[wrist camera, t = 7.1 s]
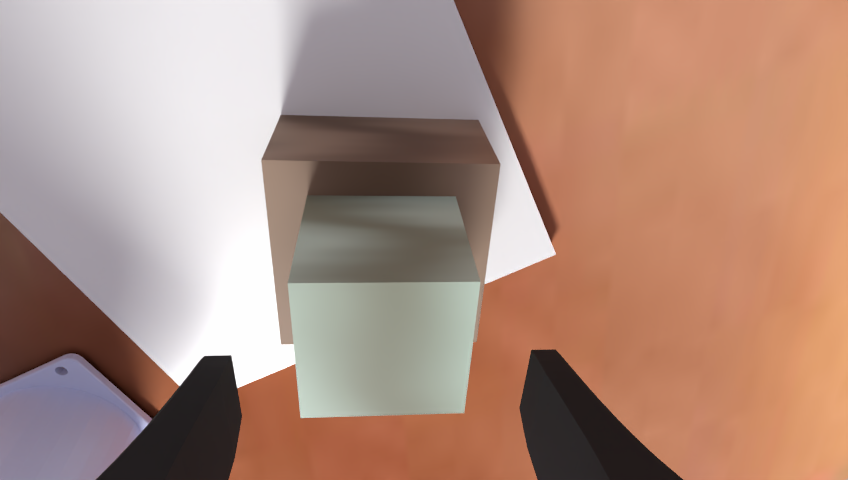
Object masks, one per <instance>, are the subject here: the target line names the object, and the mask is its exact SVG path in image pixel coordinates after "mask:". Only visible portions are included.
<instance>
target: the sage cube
mask: <svg viewBox="0 0 848 480" xmlns="http://www.w3.org/2000/svg"><path fill="white" fill-rule="evenodd" d="M479 290H480V278H479V275H478V271H477V268H476V264H475V261H474V258H473V254H472V251H471V247H470V244H469V240H468V237H467V233H466V230H465V227H464V223H463V220H462V216H461V213H460V209H459V206H458V203H457V199H456V196H322V195H307V198H306V203H305V207H304V212H303V216H302V221H301V225H300V230H299V234H298V239H297V243H296V248H295V252H294V257H293V261H292V266H291V270H290V275H289V279H288V292H289V303H290V313H291V323H292V334H293V344H294V354H295V365H296V375H297V385H298V396H299V406H300V416H301V418H316V417H348V416H381V415H413V414H446V413H464V410H465V402H466V394H467V386H468V378H469V370H470V362H471V354H472V346H473V338H474V330H475V322H476V314H477V306H478V298H479Z"/></svg>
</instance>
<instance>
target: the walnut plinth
mask: <svg viewBox="0 0 848 480" xmlns="http://www.w3.org/2000/svg"><path fill="white" fill-rule="evenodd" d="M261 163H262V172H263V182H264V191H265V200H266V210H267V219H268V228H269V238H270V247H271V257H272V266H273V275H274V285H275V294H276V303H277V313H278V322H279V332H280V341H281V345H293V334H292V323H291V313H290V303H289V292H288V279H289V275H290V270H291V266H292V261H293V257H294V252H295V248H296V243H297V239H298V234H299V230H300V225H301V221H302V216H303V212H304V207H305V203H306V198H307V195H322V196H456V199H457V203H458V206H459V209H460V213H461V216H462V220H463V223H464V227H465V230H466V233H467V237H468V240H469V244H470V247H471V251H472V254H473V258H474V261H475V264H476V268H477V271H478V275H479V278H480V290H479V298H478V306H477V314H476V322H475V330H474V338H473V342H477V335H478V327H479V320H480V313H481V305H482V298H483V290H484V283H485V276H486V268H487V261H488V254H489V246H490V239H491V231H492V224H493V217H494V209H495V202H496V195H497V187H498V180H499V172H500V165H501V164H500V162H499V160H498V158H497V156H496V154H495V152H494V150H493V148H492V146H491V144H490V142H489V140H488V138H487V136H486V134H485V132H484V130H483V128H482V126H481V124H480V122H479V120H464V119H424V118H385V117H345V116H305V115H280V118H279V120H278V122H277V125H276V127H275V129H274V132H273V134H272V136H271V139H270V141H269V143H268V146H267V148H266V150H265V152H264V155H263V157H262V159H261Z"/></svg>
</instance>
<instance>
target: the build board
mask: <svg viewBox="0 0 848 480" xmlns="http://www.w3.org/2000/svg"><path fill="white" fill-rule="evenodd" d="M280 115H305V116H345V117H385V118H424V119H464V120H479V122H480V124H481V126H482V128H483V130H484V132H485V134H486V136H487V138H488V140H489V142H490V144H491V146H492V148H493V150H494V152H495V154H496V156H497V158H498V160H499V162H500V164H501V165H500V172H499V180H498V187H497V195H496V202H495V209H494V217H493V224H492V231H491V239H490V246H489V254H488V261H487V268H486V276H485V283H484V284H486V283H489V282H491V281H494V280H496V279H498V278H501V277H503V276H506V275H508V274H510V273H513V272H515V271H518V270H520V269H522V268H525V267H527V266H529V265H532V264H534V263H537V262H539V261H541V260H544V259H546V258H549V257H551V256H553V255H556V253H555V251H554V248H553V246H552V243H551V241H550V238H549V236H548V234H547V231H546V229H545V226H544V224H543V221H542V219H541V216H540V214H539V211H538V209H537V206H536V204H535V201H534V199H533V196H532V194H531V191H530V189H529V186H528V184H527V181H526V179H525V176H524V174H523V171H522V169H521V166H520V164H519V161H518V159H517V157H516V154H515V152H514V149H513V147H512V144H511V142H510V139H509V137H508V134H507V132H506V129H505V127H504V124H503V122H502V119H501V117H500V114H499V112H498V109H497V107H496V104H495V102H494V99H493V97H492V94H491V92H490V89H489V87H488V85H487V82H486V80H485V77H484V75H483V72H482V70H481V67H480V65H479V62H478V60H477V57H476V55H475V52H474V50H473V47H472V45H471V42H470V40H469V37H468V35H467V32H466V30H465V27H464V25H463V22H462V20H461V17H460V15H459V13H458V10H457V8H456V5H455V3H454V0H0V212H1V213H2V214H3V215H4V216H5V217H6V218H7V219H8V220H9V221H10V222H11V223H12V224H13V225H14V226H15V227H16V228H17V229H18V230H19V231H20V232H21V233H22V234H23V235H24V236H25V237H26V238H27V239H28V240H29V241H30V242H31V243H33V244H34V245H35V246H36V247H37V248H38V249H39V250H40V251H41V252H42V253H43V254H44V255H45V256H46V257H47V258H48V259H49V260H50V261H51V262H52V263H53V264H54V265H55V266H56V267H57V268H58V269H59V270H60V271H61V272H62V273H63V274H64V275H66V276H67V277H68V278H69V279H70V280H71V281H72V282H73V283H74V284H75V285H76V286H77V287H78V288H79V289H80V290H81V291H82V292H83V293H84V294H85V295H86V296H87V297H88V298H89V299H90V300H91V301H92V302H93V303H94V304H95V305H96V306H97V307H99V308H100V309H101V310H102V311H103V312H104V313H105V314H106V315H107V316H108V317H109V318H110V319H111V320H112V321H113V322H114V323H115V324H116V325H117V326H118V327H119V328H120V329H121V330H122V331H123V332H124V333H125V334H126V335H127V336H128V337H129V338H130V339H132V340H133V341H134V342H135V343H136V344H137V345H138V346H139V347H140V348H141V349H142V350H143V351H144V352H145V353H146V354H147V355H148V356H149V357H150V358H151V359H152V360H153V361H154V362H155V363H156V364H157V365H158V366H159V367H160V368H161V369H162V370H163V371H165V372H166V373H167V374H168V375H169V376H170V377H171V378H172V379H173V380H174V381H175V382H176V383H177V384H178V385H179V386H180V385H181V384H182V383H183V381H184V380H185V379H186V378H187V376H188V375H189V374H190V372H191V371H192V370H193V369H194V367H195V366H196V365H197V363H198V362H199V361H200V359H202V358H203V357H204V356H213V355H232V361H233V367H234V373H235V379H236V384H237V388H238V387H241V386H243V385H245V384H248V383H250V382H253V381H255V380H257V379H260V378H262V377H265V376H267V375H269V374H272V373H274V372H276V371H279V370H281V369H284V368H286V367H288V366H291V365H293V364H295V354H294V344H293V345H281V341H280V332H279V322H278V313H277V303H276V294H275V285H274V275H273V266H272V257H271V247H270V238H269V228H268V219H267V210H266V200H265V191H264V182H263V172H262V163H261V159H262V157H263V155H264V152H265V150H266V148H267V146H268V143H269V141H270V139H271V136H272V134H273V132H274V129H275V127H276V125H277V122H278V120H279V118H280Z"/></svg>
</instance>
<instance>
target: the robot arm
mask: <svg viewBox="0 0 848 480" xmlns="http://www.w3.org/2000/svg"><path fill="white" fill-rule="evenodd" d="M62 367H64V368H65V369H64V368H62ZM520 413H521V418H522V423H523V429H524V434H525V438H526V443H527V448H528V451H529V454H530V457H531V460H532V463H533V466H534V470H535V473H536V476H537V479H538V480H683V479H682V478H681V477H679V476H678V475H677V474H676V473H675V472H673V471H672V470H671V469H670V468H669V467H668V466H666V465H665V464H664V463H663V462H662V461H661V460H659V459H658V458H657V457H656V456H655V455H654V454H653V453H652V452H650V451H649V450H648V449H647V448H646V447H645V446H644V445H643V444H642V443H641V442H640V441H639V440H638V439H637V438H636V437H635V436H634V435H633V434H632V433H631V432H630V431H629V430H628V429H627V428H626V427H625V426H624V425H623V424H622V423H621V422H620V421H619V420H618V419H617V418H616V417H615V416H614V415H613V414H612V413H611V412H610V411H609V410H608V408H607V407H606V406H605V405H604V404H603V403H602V402H601V401H600V400H599V399H598V398H597V397H596V395H595V394H594V393H593V392H592V391H591V390H590V389H589V388H588V386H587V385H586V384H585V383H584V382H583V381H582V379H581V378H580V377H579V376H578V375H577V374H576V373H575V371H574V370H573V369H572V368H571V367H570V365H569V364H568V363H567V362H566V361H565V360H564V358H563V357H562V356H561V355H560V354H559V353H558V352H557V351H556V350H531V355H530V360H529V365H528V370H527V375H526V379H525V384H524V389H523V394H522V399H521V404H520ZM241 418H242V414H241V408H240V402H239V396H238V390H237V384H236V379H235V373H234V367H233V361H232V355H213V356H204V357H203V358H202V359H200V361H199V362H198V363H197V365H196V366H195V367H194V369H193V370H192V371H191V372H190V374H189V375H188V376H187V378H186V379H185V380H184V381H183V383H182V384H181V385H180V387H179V388H178V389H177V390H176V391H175V393H174V394H173V395H172V396H171V398H170V399H169V400H168V401H167V403H166V404H165V405H164V406H163V407H162V408H161V410H160V411H159V412H158V413H157V414H156V415H155V417H154V418H153V419H152V418H150V417H149V416H148V415H147V414H146V413H145V412H144V411H143V410H141V409H140V408H139V407H138V406H137V405H136V404H135V403H134V402H132V401H131V400H130V399H129V398H128V397H127V396H126V395H125V394H123V393H122V392H121V391H120V390H119V389H118V388H117V387H116V386H114V385H113V384H112V383H111V382H110V381H109V380H108V379H107V378H105V377H104V376H103V375H102V374H101V373H100V372H99V371H98V370H96V369H95V368H94V367H93V366H92V365H91V364H90V363H89V362H87V361H86V360H85V359H84V358H83V357H81V356H80V355H78V354H73V353H69V354H65V355H63V356H61V357H59V358H57V359H54V360H52V361H50V362H48V363H46V364H43V365H41V366H39V367H37V368H35V369H33V370H30V371H28V372H26V373H24V374H22V375H19V376H17V377H15V378H13V379H11V380H8V381H6V382H4V383H2V384H0V480H228V479H229V476H230V472H231V469H232V465H233V462H234V458H235V453H236V447H237V442H238V436H239V430H240V424H241Z"/></svg>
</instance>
